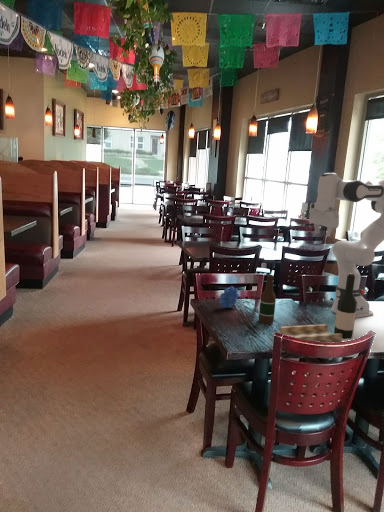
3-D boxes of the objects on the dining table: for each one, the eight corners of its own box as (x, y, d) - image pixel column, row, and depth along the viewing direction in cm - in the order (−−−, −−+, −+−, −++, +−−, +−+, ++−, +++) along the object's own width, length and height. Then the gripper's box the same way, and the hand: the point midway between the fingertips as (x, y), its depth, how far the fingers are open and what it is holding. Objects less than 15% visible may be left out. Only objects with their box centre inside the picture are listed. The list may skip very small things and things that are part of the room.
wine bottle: (353, 340, 193) (362, 276, 187) (334, 337, 195) (343, 274, 189) (350, 333, 201) (359, 272, 195) (332, 331, 203) (340, 270, 197)
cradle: (324, 331, 202) (325, 324, 202) (341, 341, 190) (342, 334, 190) (279, 334, 195) (280, 326, 195) (294, 345, 183) (295, 337, 183)
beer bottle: (275, 325, 207) (280, 277, 202) (259, 324, 206) (264, 277, 201) (271, 319, 214) (276, 273, 209) (256, 319, 213) (260, 273, 209)
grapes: (233, 304, 235) (235, 283, 232) (239, 308, 229) (241, 287, 226) (215, 306, 230) (216, 285, 227) (221, 310, 224) (222, 288, 221)
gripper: (344, 208, 197) (340, 238, 199) (319, 204, 216) (316, 231, 219) (332, 208, 195) (328, 238, 198) (308, 204, 214) (305, 231, 217)
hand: (322, 234), depth 208 cm, fingers open, 8 cm apart
